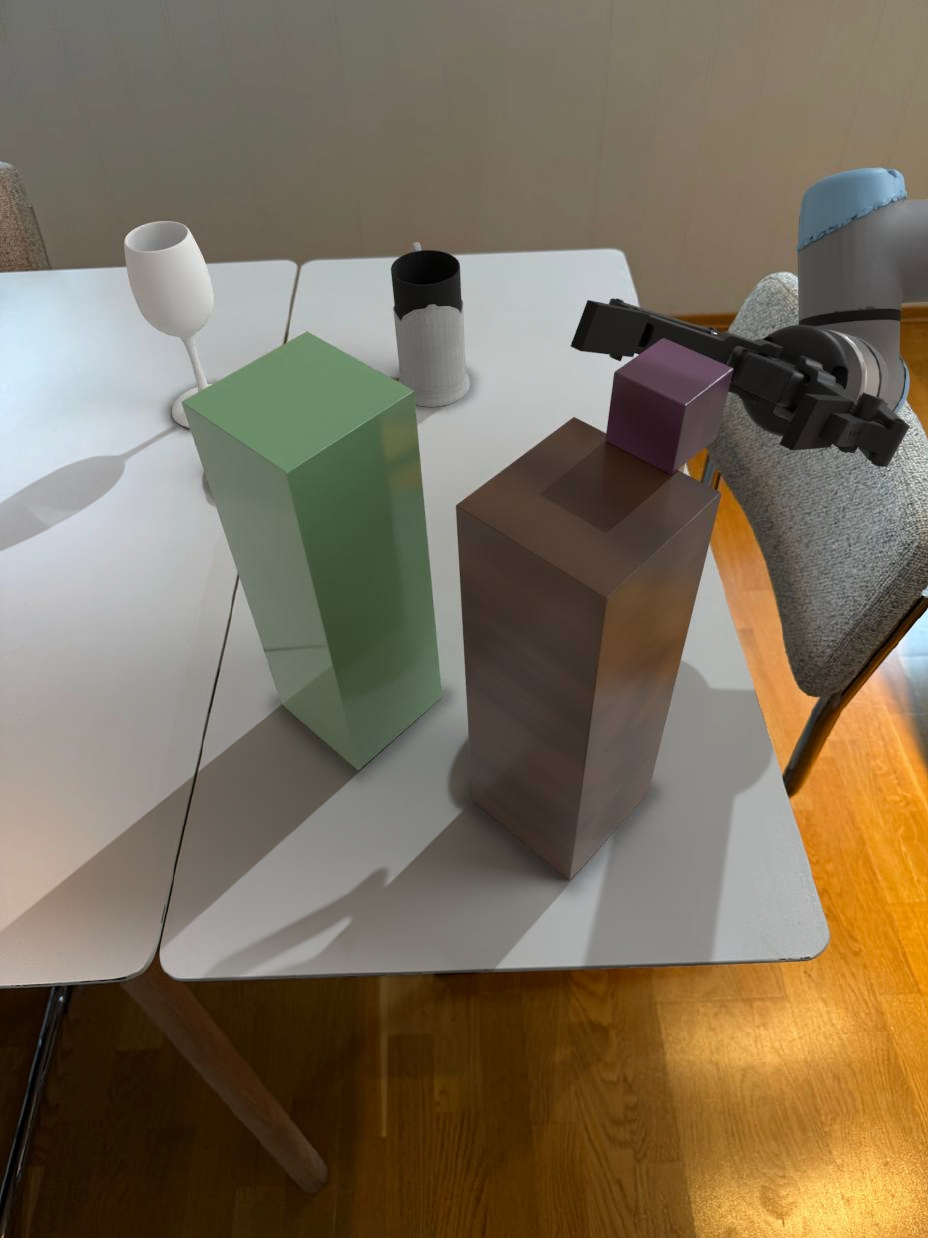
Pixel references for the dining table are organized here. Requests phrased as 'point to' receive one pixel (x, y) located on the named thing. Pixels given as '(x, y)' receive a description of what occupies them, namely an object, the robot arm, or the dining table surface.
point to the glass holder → (430, 326)
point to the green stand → (327, 536)
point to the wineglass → (171, 289)
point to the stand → (575, 633)
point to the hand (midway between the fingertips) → (683, 370)
